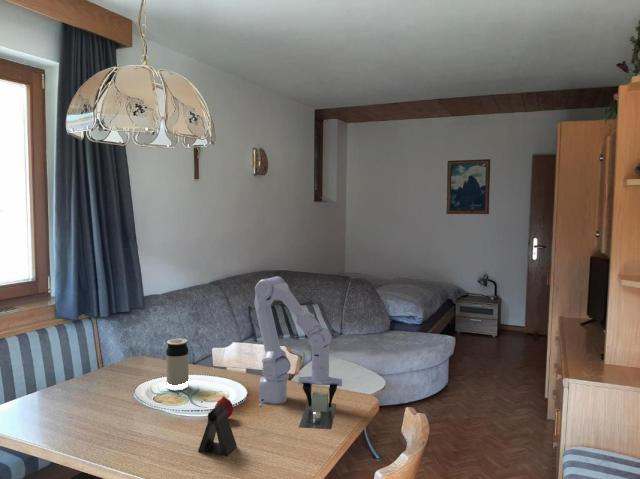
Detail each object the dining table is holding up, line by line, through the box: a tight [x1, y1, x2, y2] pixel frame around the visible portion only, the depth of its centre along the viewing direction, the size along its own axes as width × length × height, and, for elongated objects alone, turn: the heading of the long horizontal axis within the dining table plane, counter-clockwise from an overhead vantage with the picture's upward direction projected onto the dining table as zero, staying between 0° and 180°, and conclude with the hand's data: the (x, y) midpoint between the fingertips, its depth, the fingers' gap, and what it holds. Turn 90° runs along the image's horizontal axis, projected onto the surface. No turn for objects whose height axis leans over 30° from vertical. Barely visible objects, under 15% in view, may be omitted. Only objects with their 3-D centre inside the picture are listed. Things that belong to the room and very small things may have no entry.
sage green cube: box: [311, 390, 329, 412], centre depth 165 cm, size 5×5×5 cm
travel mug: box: [165, 338, 189, 385], centre depth 187 cm, size 8×8×18 cm
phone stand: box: [197, 404, 237, 457], centre depth 139 cm, size 9×6×12 cm, turn 75°
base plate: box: [298, 401, 337, 430], centre depth 160 cm, size 10×20×4 cm, turn 174°
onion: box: [214, 395, 234, 418], centre depth 158 cm, size 6×6×8 cm
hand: (320, 405), depth 165 cm, fingers open, 6 cm apart
